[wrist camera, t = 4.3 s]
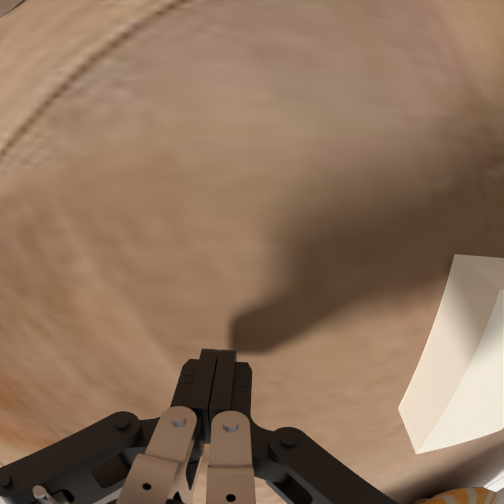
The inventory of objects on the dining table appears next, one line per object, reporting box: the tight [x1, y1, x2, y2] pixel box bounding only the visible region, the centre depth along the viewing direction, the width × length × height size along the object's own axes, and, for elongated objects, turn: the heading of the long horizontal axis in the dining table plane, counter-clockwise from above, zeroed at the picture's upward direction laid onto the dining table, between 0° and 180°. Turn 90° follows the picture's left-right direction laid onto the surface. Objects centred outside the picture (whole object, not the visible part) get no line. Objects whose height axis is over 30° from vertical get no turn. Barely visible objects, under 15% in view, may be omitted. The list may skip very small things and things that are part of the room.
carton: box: [398, 254, 504, 454], centre depth 13 cm, size 10×7×4 cm
